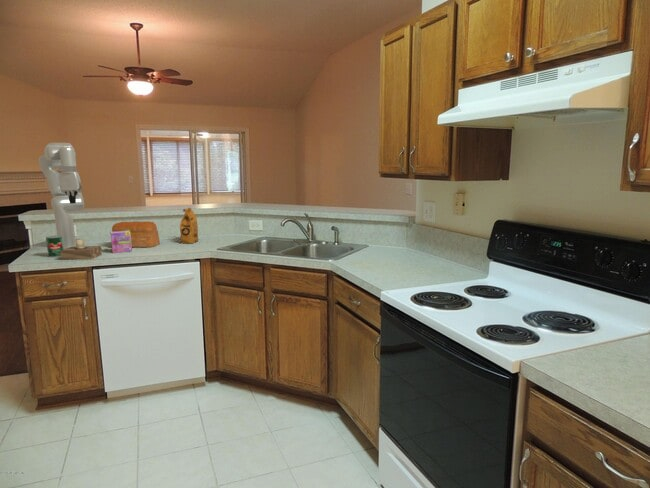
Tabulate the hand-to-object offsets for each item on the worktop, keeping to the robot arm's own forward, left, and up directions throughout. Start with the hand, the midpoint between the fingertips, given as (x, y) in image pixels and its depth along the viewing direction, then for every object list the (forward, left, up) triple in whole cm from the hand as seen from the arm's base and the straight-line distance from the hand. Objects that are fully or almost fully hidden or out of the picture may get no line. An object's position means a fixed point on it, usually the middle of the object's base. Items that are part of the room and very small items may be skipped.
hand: (72, 203), depth 252 cm
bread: (-24, +23, -30) cm, 45 cm away
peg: (+9, +6, -29) cm, 31 cm away
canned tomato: (+3, -11, -29) cm, 31 cm away
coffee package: (-33, +54, -29) cm, 70 cm away
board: (+9, +6, -29) cm, 31 cm away
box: (-6, +22, -29) cm, 37 cm away
